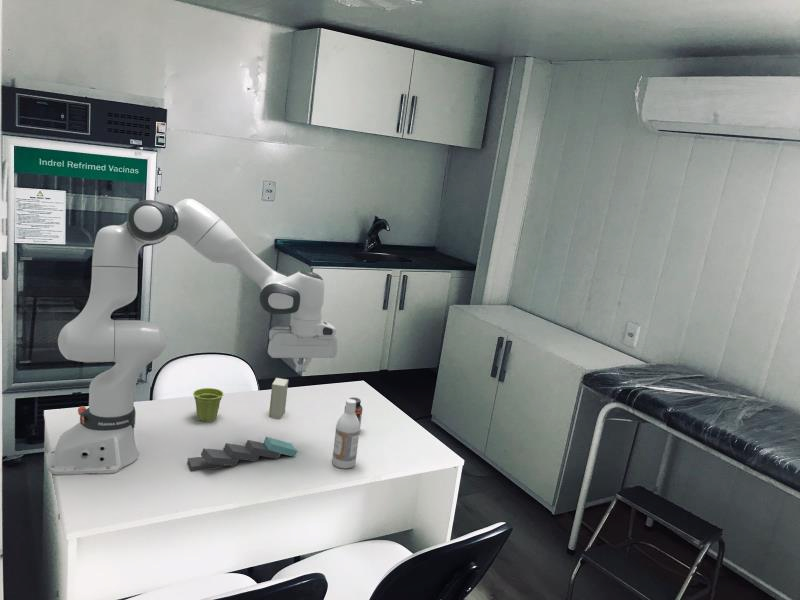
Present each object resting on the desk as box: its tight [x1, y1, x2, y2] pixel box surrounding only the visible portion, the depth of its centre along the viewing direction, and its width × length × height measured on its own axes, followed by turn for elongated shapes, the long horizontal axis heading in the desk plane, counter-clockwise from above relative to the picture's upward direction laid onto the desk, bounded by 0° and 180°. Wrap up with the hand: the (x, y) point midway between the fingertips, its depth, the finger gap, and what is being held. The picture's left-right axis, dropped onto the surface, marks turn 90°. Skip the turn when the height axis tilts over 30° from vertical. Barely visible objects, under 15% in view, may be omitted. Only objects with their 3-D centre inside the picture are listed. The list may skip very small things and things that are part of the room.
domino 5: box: [262, 436, 299, 458], centre depth 186 cm, size 2×5×9 cm
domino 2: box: [200, 448, 240, 467], centre depth 175 cm, size 2×5×9 cm
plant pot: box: [192, 387, 224, 423], centre depth 204 cm, size 9×9×9 cm
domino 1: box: [187, 456, 225, 472], centre depth 176 cm, size 2×5×9 cm
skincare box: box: [268, 377, 289, 420], centre depth 213 cm, size 6×4×12 cm
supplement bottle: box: [343, 396, 363, 425], centre depth 208 cm, size 6×6×11 cm
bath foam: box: [331, 398, 361, 470], centre depth 185 cm, size 7×7×20 cm
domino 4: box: [244, 439, 281, 460], centre depth 184 cm, size 2×5×9 cm
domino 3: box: [222, 442, 260, 462], centre depth 180 cm, size 2×5×9 cm
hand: (300, 371), depth 186 cm, fingers closed
